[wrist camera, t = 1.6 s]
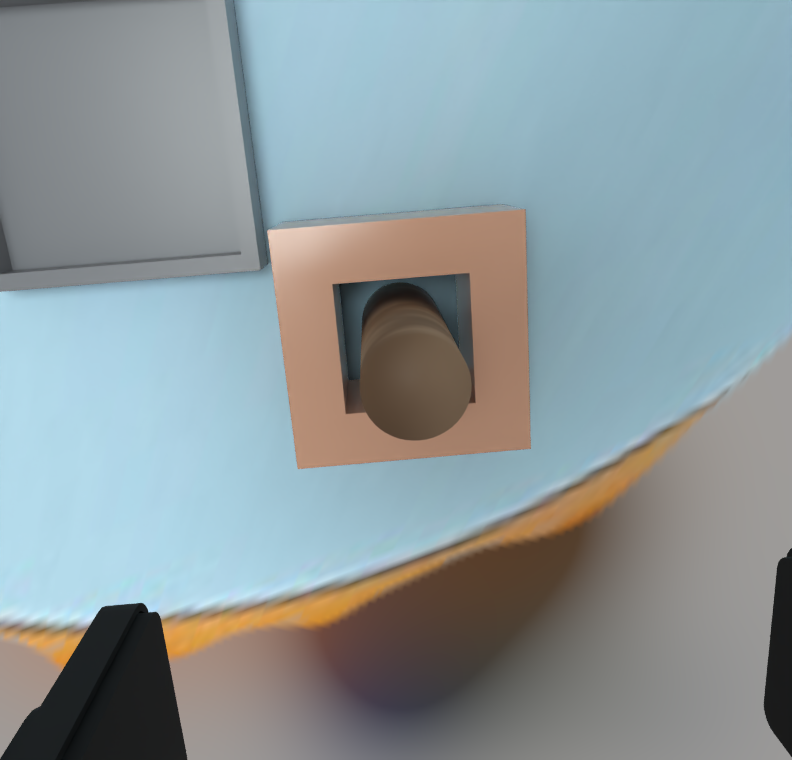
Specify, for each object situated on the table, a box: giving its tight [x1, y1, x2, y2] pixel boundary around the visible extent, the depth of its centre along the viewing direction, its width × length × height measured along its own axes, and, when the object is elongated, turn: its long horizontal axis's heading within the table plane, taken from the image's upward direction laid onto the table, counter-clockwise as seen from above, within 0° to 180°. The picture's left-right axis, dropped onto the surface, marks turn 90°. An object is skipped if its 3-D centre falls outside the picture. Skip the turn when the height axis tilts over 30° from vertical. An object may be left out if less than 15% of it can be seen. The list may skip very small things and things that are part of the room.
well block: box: [267, 204, 531, 469], centre depth 33 cm, size 11×11×6 cm
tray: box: [0, 0, 268, 292], centre depth 32 cm, size 13×13×2 cm
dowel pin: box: [360, 282, 472, 441], centre depth 30 cm, size 4×4×12 cm
